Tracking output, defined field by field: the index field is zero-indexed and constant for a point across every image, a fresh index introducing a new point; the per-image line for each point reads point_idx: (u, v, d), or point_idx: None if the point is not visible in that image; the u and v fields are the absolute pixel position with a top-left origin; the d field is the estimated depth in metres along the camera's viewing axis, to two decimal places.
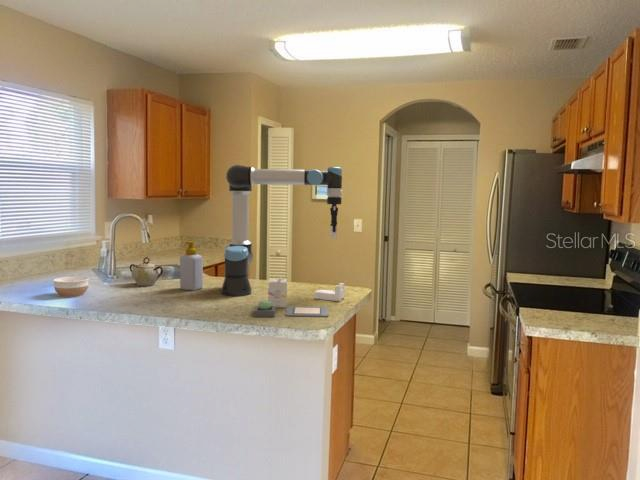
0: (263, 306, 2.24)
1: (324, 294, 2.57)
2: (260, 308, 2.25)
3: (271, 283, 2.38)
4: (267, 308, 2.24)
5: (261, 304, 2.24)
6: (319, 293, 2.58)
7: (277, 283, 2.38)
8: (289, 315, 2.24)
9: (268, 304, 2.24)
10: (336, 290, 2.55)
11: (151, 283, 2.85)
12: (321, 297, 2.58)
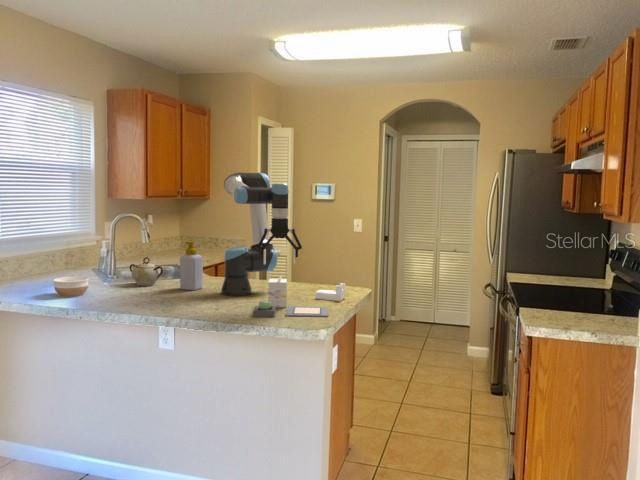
0: (263, 306, 2.24)
1: (325, 294, 2.57)
2: (260, 308, 2.25)
3: (271, 283, 2.38)
4: (267, 308, 2.24)
5: (261, 304, 2.24)
6: (320, 293, 2.58)
7: (277, 283, 2.38)
8: (289, 315, 2.24)
9: (268, 304, 2.24)
10: (337, 290, 2.55)
11: (151, 283, 2.85)
12: (322, 297, 2.58)
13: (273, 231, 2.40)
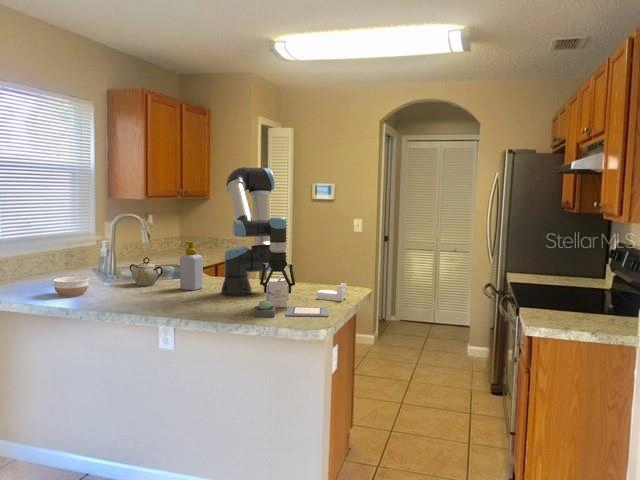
0: (263, 306, 2.24)
1: (326, 294, 2.57)
2: (260, 308, 2.25)
3: (271, 283, 2.38)
4: (267, 308, 2.24)
5: (261, 304, 2.24)
6: (321, 293, 2.58)
7: (277, 283, 2.38)
8: (289, 315, 2.24)
9: (268, 304, 2.24)
10: (338, 290, 2.55)
11: (151, 283, 2.85)
12: (323, 297, 2.58)
13: (271, 264, 2.41)
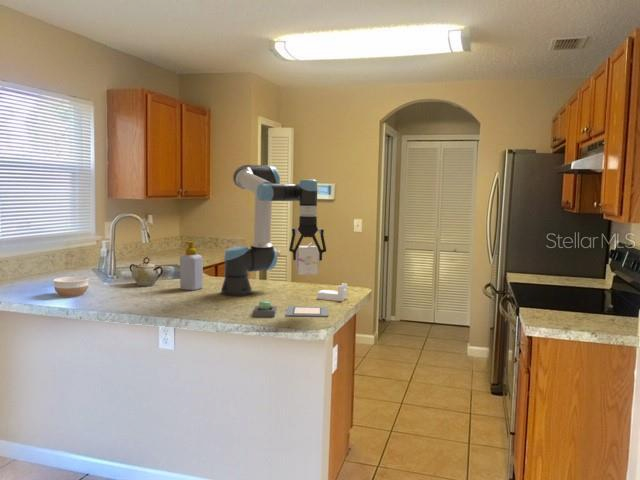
0: (263, 306, 2.24)
1: (327, 294, 2.57)
2: (260, 308, 2.25)
3: (301, 249, 2.24)
4: (267, 308, 2.24)
5: (261, 304, 2.24)
6: (322, 293, 2.58)
7: (307, 249, 2.24)
8: (289, 315, 2.24)
9: (268, 304, 2.24)
10: (339, 290, 2.54)
11: (151, 283, 2.85)
12: (324, 297, 2.58)
13: (301, 229, 2.27)
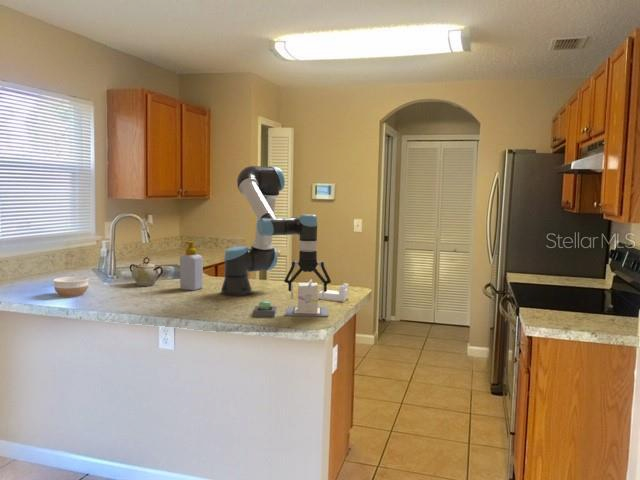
0: (263, 306, 2.24)
1: (328, 294, 2.57)
2: (260, 308, 2.25)
3: (301, 287, 2.26)
4: (267, 308, 2.24)
5: (261, 304, 2.24)
6: None
7: (307, 287, 2.26)
8: (289, 315, 2.24)
9: (268, 304, 2.24)
10: (340, 290, 2.54)
11: (151, 283, 2.85)
12: (325, 297, 2.57)
13: (301, 264, 2.28)
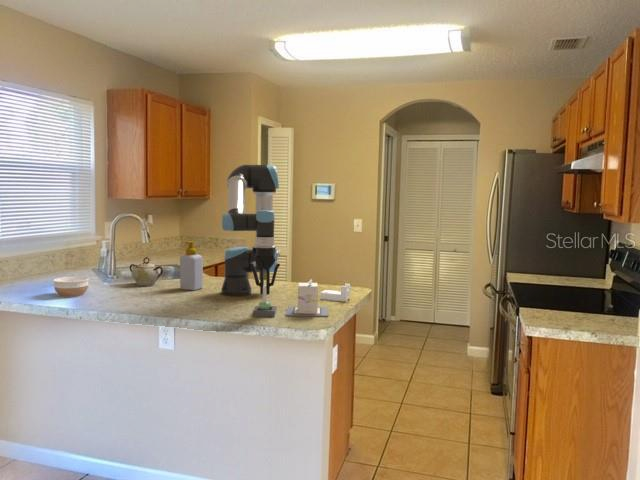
0: (263, 307, 2.24)
1: (330, 295, 2.56)
2: (260, 308, 2.25)
3: (301, 287, 2.26)
4: (267, 308, 2.24)
5: (261, 304, 2.24)
6: (325, 294, 2.57)
7: (307, 287, 2.26)
8: (289, 315, 2.24)
9: (268, 304, 2.24)
10: (342, 291, 2.54)
11: (151, 283, 2.85)
12: (327, 298, 2.57)
13: (258, 261, 2.23)
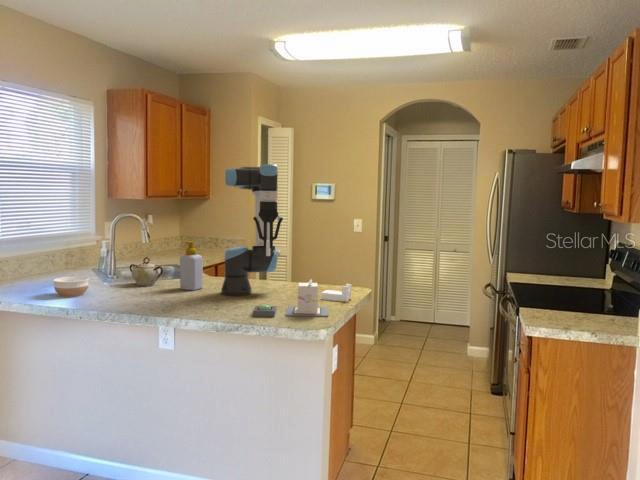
0: None
1: (331, 295, 2.56)
2: None
3: (301, 287, 2.26)
4: None
5: (261, 308, 2.24)
6: (326, 294, 2.57)
7: (307, 287, 2.26)
8: (289, 315, 2.24)
9: (268, 308, 2.25)
10: (343, 291, 2.54)
11: (151, 283, 2.85)
12: (328, 298, 2.57)
13: (262, 214, 2.26)
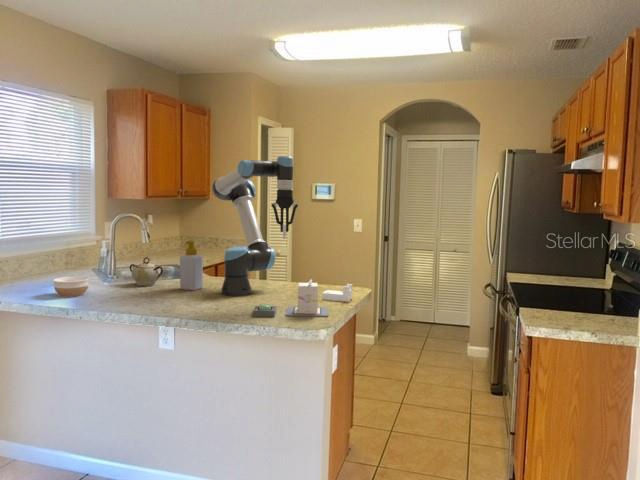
0: None
1: (332, 295, 2.56)
2: None
3: (301, 287, 2.26)
4: None
5: (261, 308, 2.24)
6: (327, 294, 2.57)
7: (307, 287, 2.26)
8: (289, 315, 2.24)
9: (268, 308, 2.25)
10: (344, 291, 2.53)
11: (151, 283, 2.85)
12: (329, 298, 2.56)
13: (279, 201, 2.52)
